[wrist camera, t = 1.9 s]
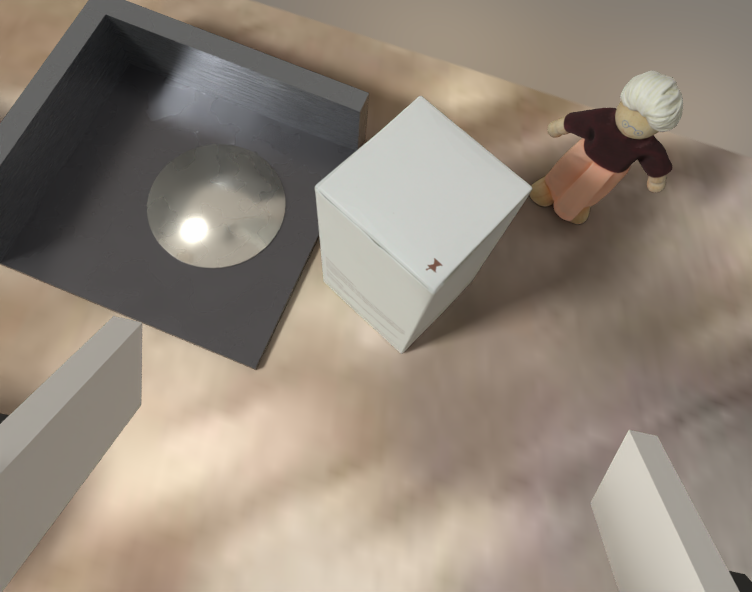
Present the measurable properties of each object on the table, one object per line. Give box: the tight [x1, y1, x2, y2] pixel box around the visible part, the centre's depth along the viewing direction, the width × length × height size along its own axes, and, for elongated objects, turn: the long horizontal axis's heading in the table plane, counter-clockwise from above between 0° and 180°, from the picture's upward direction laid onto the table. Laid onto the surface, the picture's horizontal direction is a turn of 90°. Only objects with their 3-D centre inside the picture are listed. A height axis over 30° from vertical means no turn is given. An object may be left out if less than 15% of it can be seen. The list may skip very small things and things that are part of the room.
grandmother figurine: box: [529, 71, 683, 224], centre depth 34 cm, size 8×4×13 cm, turn 69°
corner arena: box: [0, 0, 369, 370], centre depth 36 cm, size 19×18×5 cm
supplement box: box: [315, 96, 532, 354], centre depth 31 cm, size 7×7×13 cm
